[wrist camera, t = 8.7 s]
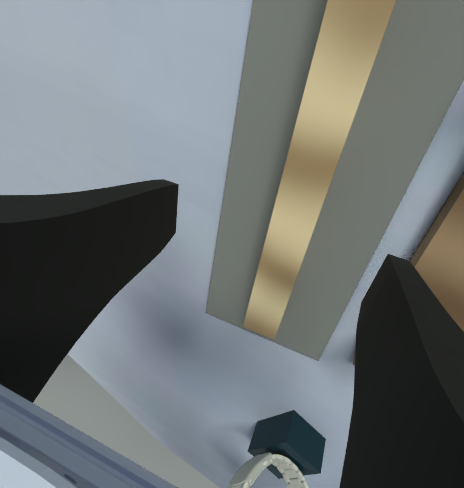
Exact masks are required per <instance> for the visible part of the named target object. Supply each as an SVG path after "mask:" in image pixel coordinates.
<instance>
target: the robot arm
mask: <svg viewBox="0 0 464 488" xmlns="http://www.w3.org/2000/svg"><path fill="white" fill-rule="evenodd" d="M177 201H178V184H176V183H173V182H170V181H167V180H150V181H143V182H137V183H131V184H126V185H120V186H114V187H108V188H101V189H94V190H88V191H81V192H72V193H62V194H47V195H0V488H178V487H176V486H174V485H172V484H171V483H169V482H167V481H165V480H164V479H162V478H160V477H158V476H157V475H155V474H154V473H152V472H150V471H148V470H147V469H145V468H143V467H142V466H140V465H138V464H136V463H135V462H133V461H131V460H130V459H128V458H126V457H124V456H122V455H121V454H119V453H117V452H116V451H114V450H112V449H111V448H109V447H107V446H105V445H104V444H102V443H100V442H99V441H97V440H95V439H93V438H92V437H90V436H88V435H86V434H85V433H83V432H81V431H80V430H78V429H76V428H74V427H73V426H71V425H69V424H67V423H66V422H64V421H63V420H60V419H59V418H57V417H56V416H54V415H52V414H50V413H49V412H47V411H45V410H44V409H42V408H40V407H38V406H36V405H35V404H33V402H34V400H35V399H36V397H37V396H38V394H39V393H40V391H41V390H42V388H43V387H44V386H45V384H46V383H47V381H48V380H49V378H50V377H51V376H52V374H53V373H54V371H55V370H56V368H57V367H58V366H59V364H60V363H61V362H62V360H63V358H64V357H65V356H66V355H67V354H68V352H69V351H70V349H71V348H72V347H73V345H74V344H75V343H76V341H77V340H78V339H79V338H80V336H81V335H82V334H83V333H84V331H85V330H86V329H87V328H88V326H89V325H90V324H91V323H92V321H93V320H94V319H95V318H96V317H97V315H98V314H99V313H100V312H101V311H102V310H103V308H104V307H105V306H106V305H107V304H108V303H109V301H110V300H111V299H112V298H113V297H114V296H115V295H116V294H117V293H118V292H119V291H120V290H121V289H122V288H123V287H124V286H125V285H126V284H127V283H128V282H129V281H131V280H132V279H133V278H134V277H135V276H136V275H137V274H138V273H139V272H140V271H141V270H142V269H143V268H144V267H146V266H147V265H148V264H149V263H150V262H151V261H152V260H153V259H154V258H155V257H156V256H157V255H158V254H159V253H160V252H161V251H162V250H163V248H164V247H165V246H166V245H167V244H168V242H169V241H170V240H171V238H172V237H173V235H174V234H175V233H176V218H177ZM340 488H464V332H463V330H462V329H461V328H460V327H459V326H458V324H457V323H456V322H455V321H454V320H453V318H452V317H451V316H450V315H449V313H448V312H447V311H446V310H445V308H444V307H443V306H442V304H441V303H440V302H439V300H438V299H437V298H436V296H435V295H434V294H433V292H432V291H431V289H430V288H429V287H428V285H427V284H426V282H425V281H424V280H423V278H422V277H421V275H420V274H419V273H418V271H417V270H416V269H415V267H414V266H413V265H412V264H411V262H410V261H408V260H405V259H402V258H399V257H396V256H393V255H390V254H388V255H387V257H386V258H385V260H384V262H383V264H382V266H381V268H380V269H379V271H378V273H377V275H376V277H375V279H374V280H373V282H372V284H371V286H370V288H369V289H368V291H367V293H366V295H365V297H364V299H363V300H362V303H361V308H360V313H359V318H358V323H357V330H356V352H355V379H354V399H353V410H352V416H351V423H350V429H349V436H348V442H347V448H346V454H345V460H344V466H343V471H342V477H341V482H340Z"/></svg>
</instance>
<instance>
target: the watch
mask: <svg viewBox="0 0 464 488" xmlns="http://www.w3.org/2000/svg"><path fill="white" fill-rule="evenodd" d="M325 440H326V439H325V438H324V437H323V436H322V435H321V434H320V433H318V432H317V431H316V430H315V429H314V428H313V427H312V426H311V425H310V424H309V423H307V422H306V421H305V420H304V419H303V418H302V417H301V416H300V415H299V414H298V413H297V412H295V411H294V410H293V411H290V412H287V413H284V414H280V415H277V416H274V417H271V418H267V419H264V420H261V421H258V422H257V425H256V428H255V431H254V434H253V437H252V440H251V443H250V446H249V449H248V452H249V453H250V454H252V455H253V456H254V457H253V458H251V459H250V460H249V461H247V462H246V463H245V464H244V465H243V466H242V467H241V468H240V469H239V470H238V472H237V473H236V474H235V476H234V477H233V478H232V480H231V482H230V484H231V486H230V488H249V487H250V486H252V485H253V483H254V482H255V480H256V479H257V477H258V476H259V475H260V473H261V472H262V471H263V470H264V469H265V468H267V469H269V470H270V471H271V472H272V473H273V474H274V475H275V476H276V477H278V478H284V479H285V481H286V483H288V484H287V486H288V488H308V485H307V483H306V481H305V478H304V476H303V475H311V474H318V473H321V467H322V460H323V453H324V447H325Z"/></svg>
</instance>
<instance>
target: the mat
mask: <svg viewBox="0 0 464 488" xmlns="http://www.w3.org/2000/svg"><path fill="white" fill-rule="evenodd" d="M327 1H328V0H253V6H252V12H251V19H250V26H249V32H248V39H247V45H246V52H245V58H244V65H243V71H242V78H241V85H240V91H239V98H238V104H237V111H236V117H235V124H234V131H233V137H232V144H231V150H230V157H229V163H228V170H227V176H226V183H225V190H224V196H223V203H222V209H221V216H220V222H219V229H218V236H217V242H216V249H215V255H214V262H213V268H212V275H211V281H210V288H209V295H208V301H207V308H206V313H207V314H209V315H212V316H214V317H216V318H219V319H221V320H223V321H226V322H228V323H231V324H233V325H235V326H238V327H240V328H242V329H245V330H247V331H249V332H252V333H254V334H256V335H259V336H261V337H263V338H266V339H268V340H270V341H273V342H275V343H277V344H280V345H282V346H284V347H287V348H289V349H291V350H294V351H296V352H298V353H301V354H303V355H305V356H308V357H310V358H312V359H315V360H317V361H319V359H320V357H321V355H322V353H323V351H324V349H325V347H326V345H327V344H328V342H329V340H330V338H331V336H332V334H333V332H334V330H335V328H336V326H337V324H338V322H339V320H340V318H341V316H342V314H343V312H344V311H345V309H346V307H347V305H348V303H349V301H350V299H351V297H352V295H353V293H354V291H355V289H356V287H357V285H358V283H359V281H360V280H361V278H362V276H363V274H364V272H365V270H366V268H367V266H368V264H369V262H370V260H371V258H372V256H373V254H374V252H375V250H376V249H377V247H378V245H379V243H380V241H381V239H382V237H383V235H384V233H385V231H386V229H387V227H388V225H389V223H390V221H391V219H392V218H393V216H394V214H395V212H396V210H397V208H398V206H399V204H400V202H401V200H402V198H403V196H404V194H405V192H406V190H407V188H408V186H409V185H410V183H411V181H412V179H413V177H414V175H415V173H416V171H417V169H418V167H419V165H420V163H421V161H422V159H423V157H424V155H425V154H426V152H427V150H428V148H429V146H430V144H431V142H432V140H433V138H434V136H435V134H436V132H437V130H438V128H439V126H440V124H441V123H442V121H443V119H444V117H445V115H446V113H447V111H448V109H449V107H450V105H451V103H452V101H453V99H454V97H455V95H456V93H457V91H458V90H459V88H460V86H461V84H462V82H463V80H464V0H397V1H396V3H395V6H394V9H393V12H392V15H391V17H390V20H389V23H388V26H387V28H386V31H385V34H384V37H383V40H382V42H381V45H380V48H379V51H378V53H377V56H376V59H375V62H374V65H373V67H372V70H371V73H370V76H369V78H368V81H367V84H366V87H365V90H364V92H363V95H362V98H361V101H360V103H359V106H358V109H357V112H356V115H355V117H354V120H353V123H352V126H351V128H350V131H349V134H348V137H347V140H346V142H345V145H344V148H343V151H342V153H341V156H340V159H339V162H338V165H337V167H336V170H335V173H334V176H333V178H332V181H331V184H330V187H329V190H328V192H327V195H326V198H325V201H324V203H323V206H322V209H321V212H320V215H319V217H318V220H317V223H316V226H315V228H314V231H313V234H312V237H311V240H310V242H309V245H308V248H307V251H306V253H305V256H304V259H303V262H302V265H301V267H300V270H299V273H298V276H297V278H296V281H295V284H294V287H293V290H292V292H291V295H290V298H289V301H288V304H287V306H286V309H285V312H284V315H283V317H282V320H281V323H280V325H279V328H278V331H277V334H276V336H275V339H271V338H269V337H267V336H264V335H262V334H260V333H257V332H255V331H253V330H250V329H248V328H246V327H243V324H244V320H245V316H246V313H247V309H248V305H249V301H250V297H251V293H252V290H253V286H254V282H255V278H256V274H257V270H258V266H259V263H260V259H261V255H262V251H263V247H264V243H265V240H266V236H267V232H268V228H269V224H270V220H271V217H272V213H273V209H274V205H275V201H276V197H277V193H278V190H279V186H280V182H281V178H282V174H283V170H284V167H285V163H286V159H287V155H288V151H289V147H290V144H291V140H292V136H293V132H294V128H295V124H296V120H297V117H298V113H299V109H300V105H301V101H302V97H303V94H304V90H305V86H306V82H307V78H308V74H309V71H310V67H311V63H312V59H313V55H314V51H315V47H316V44H317V40H318V36H319V32H320V28H321V24H322V21H323V17H324V13H325V9H326V5H327Z"/></svg>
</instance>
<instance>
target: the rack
mask: <svg viewBox="0 0 464 488" xmlns="http://www.w3.org/2000/svg"><path fill="white" fill-rule="evenodd" d="M410 262H411V264H412V265H413V266H414V267H415V269H416V270H417V271H418V273H419V274H420V275H421V277H422V278H423V280H424V281H425V282H426V284H427V285H428V287H429V288H430V289H431V291H432V292H433V294H434V295H435V296H436V298H437V299H438V300H439V302H440V303H441V304H442V306H443V307H444V308H445V310H446V311H447V312H448V313H449V315H450V316H451V317H452V318H453V320H454V321H455V322H456V323H457V324H458V326H459V327H460V328H461V329H462V330H463V332H464V173H463V174H462V176H461V178H460V179H459V181H458V183H457V184H456V186H455V188H454V189H453V191H452V193H451V194H450V196H449V197H448V199H447V201H446V202H445V204H444V206H443V207H442V209H441V211H440V212H439V214H438V216H437V217H436V219H435V221H434V222H433V224H432V225H431V227H430V229H429V230H428V232H427V234H426V235H425V237H424V239H423V240H422V242H421V244H420V245H419V247H418V248H417V250H416V252H415V253H414V255H413V257H412V258H411V260H410ZM355 352H356V350H355ZM355 352H354V363H353V365H355Z"/></svg>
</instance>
